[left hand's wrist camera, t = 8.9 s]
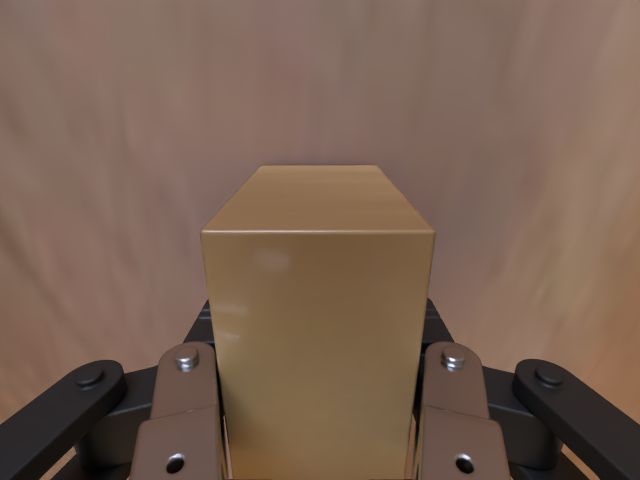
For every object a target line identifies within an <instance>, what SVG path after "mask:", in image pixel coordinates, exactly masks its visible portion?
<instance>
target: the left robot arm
mask: <svg viewBox="0 0 640 480" xmlns="http://www.w3.org/2000/svg"><path fill="white" fill-rule="evenodd" d="M413 415H414V418H415V421H416V425H415V435H414V448H413V462H412V475H411V479H369V480H511V477H512V478H513V479H514V480H590V479H589V478H588V477H587V476H586V475H585V474H584V473H582V472H581V471H580V470H579V469H578V468H577V467H576V466H575V465H574V464H573V463H572V462H571V461H570V460H569V459H568V458H567V457H566V456H565V455H564V454H563V453H562V452H561V449H562V447H563V444H565V445H566V446H567V447H568V448H569V449H570V450H571V451H572V452H573V453H574V454H576V455H577V456H578V457H579V458H580V459H581V460H582V461H583V462H584V463H585V464H586V465H587V466H588V467H589V468H590V469H591V470H592V471H593V472H594V473H595V474H596V475H597V476H598V477H599V479H600V480H640V425H639V424H638V423H636V422H635V421H634V420H632V419H631V418H630V417H628V416H627V415H626V414H624V413H623V412H622V411H621V410H619V409H618V408H617V407H615V406H614V405H613V404H611V403H610V402H609V401H607V400H606V399H605V398H603V397H602V396H601V395H599V394H598V393H597V392H595V391H594V390H593V389H591V388H590V387H589V386H587V385H586V384H585V383H583V382H582V381H581V380H579V379H578V378H577V377H575V376H574V375H573V374H571V373H570V372H569V371H567V370H566V369H564V368H562V367H560V366H558V365H556V364H553V363H551V362H548V361H544V360H539V359H526V360H523V361H521V362H519V363H518V364H517V366H516V369H515V373H510V372H506V371H501V370H497V369H492V368H488V367H485V366H482V363H481V360H480V359H479V357H478V356H477V355H476V354H475V353H474V352H473V351H472V350H470V349H469V348H467V347H465V346H463V345H460V344H457V343H455V342H454V340H453V339H452V337H451V335H450V333H449V331H448V330H447V328H446V326H445V324H444V322H443V321H442V319H441V318H440V315H439V313H438V312H437V311H436V308H435V306H434V305H433V303H432V301H431V300H430V299H429V298H428V297H427V305H426V313H425V320H424V328H423V336H422V344H421V351H420V359H419V367H418V375H417V383H416V390H415V398H414V406H413ZM73 446H74V448H75V451H76V453H77V454H76V455H75V456H74V457H73V458H72V459H71V460H70V461H69V462H68V463H67V464H66V465H65V466H64V467H63V468H62V469H61V470H59V471H58V472H57V473H56V474H55V475H54V476H53V477H52V478H51V479H50V480H126V479H127V478H128V477H129V476H130V477H129V480H271V479H229V475H228V461H227V448H226V435H225V425H224V408H223V400H222V393H221V386H220V378H219V371H218V363H217V356H216V349H215V341H214V334H213V326H212V319H211V312H210V304H209V299H208V300H207V301H206V303H205V305H204V307H203V308H202V312H200V314H199V315H198V317H197V319H196V321H195V323H194V324H193V326H192V328H191V330H190V331H189V333H188V335H187V337H186V338H185V340H184V342H183V344H180V345H177V346H175V347H173V348H171V349H170V350H168V351H167V352H166V353H165V354H164V355H163V356H162V357H161V359H160V360H159V364H158V365H157V366H154V367H151V368H147V369H143V370H138V371H134V372H129V373H125V374H124V371H123V368H122V365H121V364H120V363H118V362H116V361H113V360H100V361H95V362H91V363H88V364H85V365H83V366H81V367H78V368H77V369H75V370H73V371H72V372H70V373H69V374H67V375H66V376H65V377H63V378H62V379H61V380H59V381H58V382H57V383H55V384H54V385H53V386H51V387H50V388H49V389H47V390H46V391H45V392H43V393H42V394H41V395H39V396H38V397H37V398H35V399H34V400H33V401H31V402H30V403H29V404H27V405H26V406H25V407H23V408H22V409H21V410H19V411H18V412H17V413H15V414H14V415H13V416H12V417H10V418H9V419H8V420H6V421H5V422H4V423H2V424H1V425H0V480H39V479H40V478H41V477H42V476H43V475H44V474H45V473H46V472H47V471H48V470H49V469H50V468H51V467H52V466H53V465H54V464H55V463H56V462H57V461H58V460H59V459H60V458H61V457H62V456H63V455H64V454H66V453H67V452H68V451H69V450H70V449H71V448H72V447H73ZM510 476H511V477H510Z"/></svg>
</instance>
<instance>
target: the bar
mask: <svg viewBox="0 0 640 480" xmlns="http://www.w3.org/2000/svg"><path fill="white" fill-rule="evenodd" d="M435 235H436V233H435V230H434V229H433V228H432V226H431V225H430V224H429V223H428V222H427V221H426V220H425V219H424V217H423V216H422V215H421V214H420V213H419V212H418V211H417V210H416V209H415V207H414V206H413V205H412V204H411V203H410V202H409V201H408V200H407V199H406V197H405V196H404V195H403V194H402V193H401V192H400V191H399V190H398V188H397V187H396V186H395V185H394V184H393V183H392V182H391V181H390V180H389V178H388V177H387V176H386V175H385V174H384V173H383V172H382V171H381V169H380V168H379V167H378V166H376V165H292V166H260V167H259V168H258V169H257V170H256V172H255V173H254V174H253V175H252V176H251V177H250V178H249V179H248V180H247V181H246V182H245V183H244V184H243V185H242V187H241V188H240V189H239V190H238V191H237V192H236V193H235V194H234V195H233V196H232V197H231V198H230V199H229V201H228V202H227V203H226V204H225V205H224V206H223V207H222V208H221V209H220V210H219V211H218V212H217V213H216V214H215V216H214V217H213V218H212V219H211V220H210V221H209V222H208V223H207V224H206V225H205V226H204V227H203V228H202V229H201V231H200V238H201V245H202V253H203V260H204V267H205V275H206V282H207V290H208V297H209V304H210V312H211V319H212V326H213V334H214V341H215V349H216V356H217V363H218V371H219V378H220V386H221V393H222V400H223V408H224V415H225V422H226V430H227V437H228V445H229V452H230V459H231V467H232V474H233V479H271V480H369V479H404V476H405V468H406V461H407V453H408V445H409V437H410V429H411V422H412V414H413V406H414V398H415V390H416V383H417V375H418V367H419V359H420V351H421V344H422V336H423V328H424V320H425V313H426V305H427V297H428V289H429V281H430V274H431V266H432V258H433V250H434V242H435Z"/></svg>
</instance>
